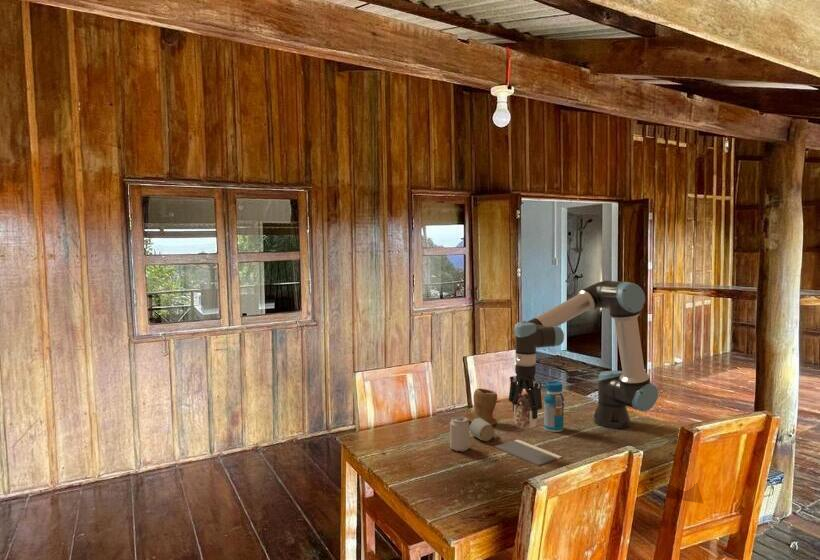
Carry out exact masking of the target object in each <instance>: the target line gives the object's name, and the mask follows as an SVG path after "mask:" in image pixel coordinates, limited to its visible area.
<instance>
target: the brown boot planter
mask: <svg viewBox="0 0 820 560" xmlns="http://www.w3.org/2000/svg"><path fill="white" fill-rule="evenodd" d="M497 400H498V394H497V392H495V391H493V390H490V389H487V388H486V389H485V388H476V389H475V390H474V392H473V406H474V411H473V412H468V411H467V412H463V413H462V414H461V415H460V416H459V417H465V418H467V419H468V420H467V421H468V422H469V423H472V421H473V420H474V419H476V418H481V419H483V420H485V421H486V422H487V423H489V424H490V425H491V426H493V425H495V424H497V421H498V420H497V419H496V418H494V415H493V412H494V411H495V408H496V405H497V402H498V401H497Z"/></svg>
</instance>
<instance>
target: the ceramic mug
mask: <svg viewBox="0 0 820 560" xmlns="http://www.w3.org/2000/svg"><path fill="white" fill-rule="evenodd" d="M469 433H470V434H471V435H472V436H473V437H475V438H477V439H479V440H481V441H482V442H488V441H491V439H492V438H495V439H496V438H498V434H499V433H497V432H496V431H495V428H494V426H493V425H490V424H489V423H487V422H486V421H485V420H483V419H481V418H476V419H474V420H473V421H472V422H470V424H469Z"/></svg>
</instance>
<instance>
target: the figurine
mask: <svg viewBox="0 0 820 560" xmlns="http://www.w3.org/2000/svg"><path fill="white" fill-rule="evenodd" d="M518 396H519V398H520V399H519V400H518V402H517V405H518V409H517V413H516V418H515V422H514V424H515V426H516V427H517V428H520V429H532V428H533V429H534V427H532V428H530V410H531V405H530V401H529V398H528V394H527V393H525V394H523V395H522V394H518ZM519 402H520V403H519Z"/></svg>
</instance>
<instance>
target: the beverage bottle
mask: <svg viewBox="0 0 820 560" xmlns="http://www.w3.org/2000/svg"><path fill="white" fill-rule="evenodd" d="M545 390H546V393H545V394H544V397H543V400H544V402H543V429H544V430H546V431H547V432H552V433H559V432H563V430H564V415H565V414H564V408H565V403H564V400H565V398H564V395H563V394H562V392H563V384H562V382H559V381H547V382H546V383H545Z"/></svg>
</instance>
